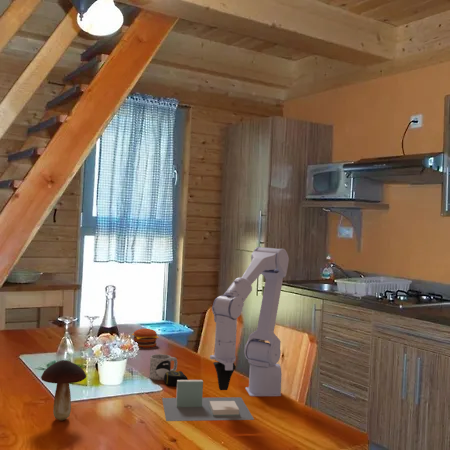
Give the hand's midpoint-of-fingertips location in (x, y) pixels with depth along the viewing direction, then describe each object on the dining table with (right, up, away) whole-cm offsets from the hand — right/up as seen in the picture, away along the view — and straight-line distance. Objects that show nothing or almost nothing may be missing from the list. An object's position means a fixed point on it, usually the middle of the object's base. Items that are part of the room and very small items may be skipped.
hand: (223, 389), depth 158 cm
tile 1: (0, -4, +1) cm, 5 cm away
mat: (-5, -5, 0) cm, 7 cm away
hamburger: (-31, -3, +71) cm, 78 cm away
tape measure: (-15, -5, +22) cm, 27 cm away
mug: (-19, -4, +30) cm, 36 cm away
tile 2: (-9, -5, +1) cm, 11 cm away
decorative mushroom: (-41, -4, -13) cm, 43 cm away
